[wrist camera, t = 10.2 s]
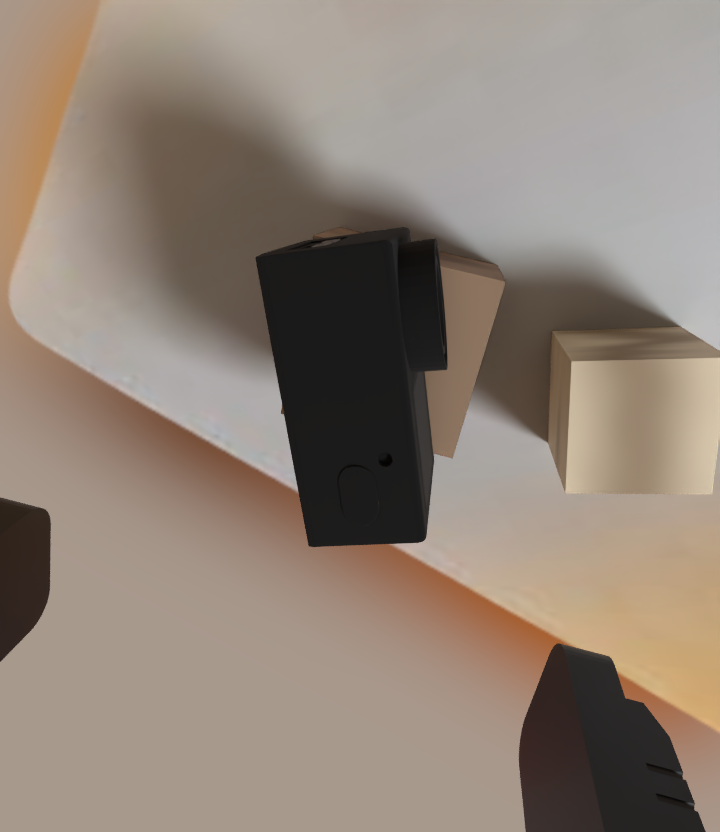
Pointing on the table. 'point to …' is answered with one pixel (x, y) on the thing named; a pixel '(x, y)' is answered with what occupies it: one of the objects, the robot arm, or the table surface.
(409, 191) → the table surface
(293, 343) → the digital camera
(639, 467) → the oak block
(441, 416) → the walnut block
